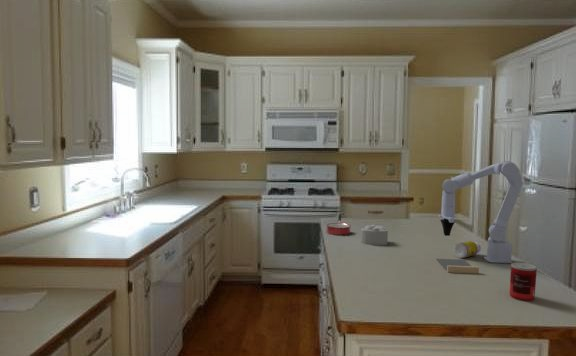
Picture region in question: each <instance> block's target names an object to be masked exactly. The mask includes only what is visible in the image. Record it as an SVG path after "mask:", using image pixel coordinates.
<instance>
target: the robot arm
mask: <svg viewBox="0 0 576 356" xmlns="http://www.w3.org/2000/svg"><path fill="white" fill-rule="evenodd" d="M492 174H493V175H503V177H505V178H506V180H507V182H508V183H509V185H508V188H507V190H506V193H505V195H504V198H503V201H502V204H501V206H500V208H499V211H498V213H497V216H496V218H495V219H494V221H493V223H492V224H491V225H490V226H489V227H488V233H489V237H488V238H487V245H486V247H487V248H486V256H483V258H484V259H485V260H486V261H487V262H489V263H500V264H501V263H502V264H503V263H504V264H512V263H513V262H512V255H513V254H512V252H513V246H512V243H511V241H508V240H506V237H507V232H506V231H507V229H508V222H509V220H510V217H511V216H512V212H513V211H514V207H515V205H516V203H517V200H518V197H519V196H520V193H521V191H522V188H523V184H524V182H523V179H522V175H521V171H520V168H519V167H518V166H517V164H515V163H514V162H512V161H510V160H506V161H502V162H497V163H494V164H491V165H489V166H485V167H484V168H481V169H478V170H477V171H474V172H472V173H470V172H468V171H467V172H464V171H462V172H461V174H459V175H457V176H451V177H450V179H449V178H447V179H445V180H444V181H443V182H442V184H441V185H442V186H441V187H442V189H443V190H442V193H441V194H442V196H441V208H440V209H441V211H440V212H441V214H438V218H442V219H439V221H440V223H441V225H442V231H443V235H444V237H449V236H451V232H452V228H453V226H454V224H455V223H456V222H455V217H456V216H455V215H456V213H455V211H456V196H455V195H456V190H459V189H460V190H461V189H462V188H465V187H468V186H471V185H473V183H474V182H475V180H478V179H481V178H483V177H487V176H490V175H492Z"/></svg>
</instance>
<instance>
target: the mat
mask: <svg viewBox="0 0 576 356" xmlns="http://www.w3.org/2000/svg"><path fill="white" fill-rule="evenodd" d="M436 261H437V262H438V263H439V265H440V266H443V267H442V268H443V269H444V270H445V271H446V273H455V274H457V273H458V274H479V273H480V266H472V265H471V264H470V263H469V262H467V261H466V260H465V259H460V258H459V259H458V258H457V259H456V258H455V259H454V258H451V259H450V258H436Z"/></svg>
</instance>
